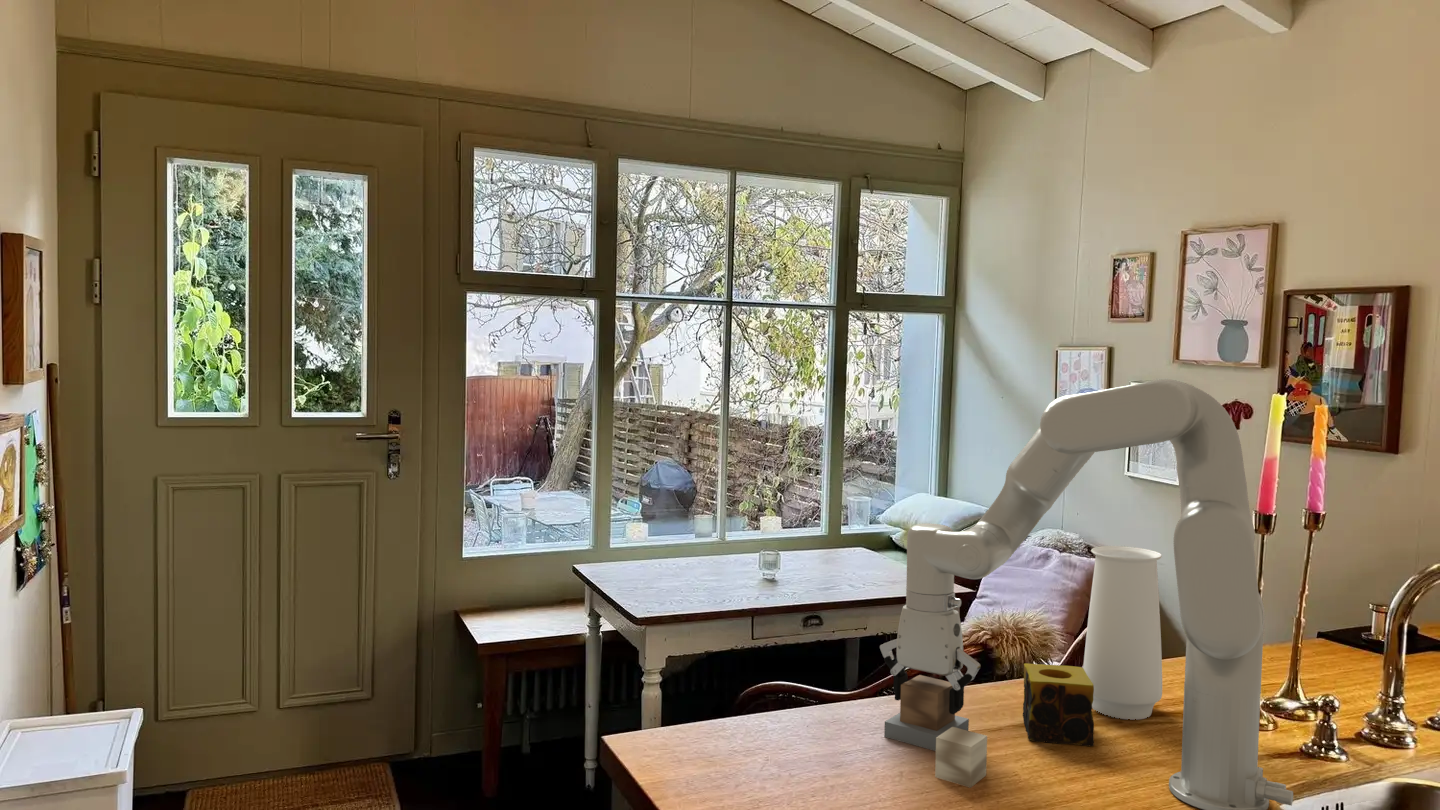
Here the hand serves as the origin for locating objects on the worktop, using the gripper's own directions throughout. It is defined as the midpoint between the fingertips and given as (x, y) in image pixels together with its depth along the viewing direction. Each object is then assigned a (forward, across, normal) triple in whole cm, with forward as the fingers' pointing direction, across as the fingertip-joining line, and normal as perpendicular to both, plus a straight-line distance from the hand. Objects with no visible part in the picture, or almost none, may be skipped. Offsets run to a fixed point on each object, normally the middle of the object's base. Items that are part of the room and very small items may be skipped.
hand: (927, 704), depth 159 cm
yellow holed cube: (+5, -16, -15) cm, 23 cm away
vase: (+5, -21, -33) cm, 39 cm away
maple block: (+5, -11, +11) cm, 16 cm away
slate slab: (+5, 0, 0) cm, 5 cm away
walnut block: (+2, 0, 0) cm, 2 cm away
